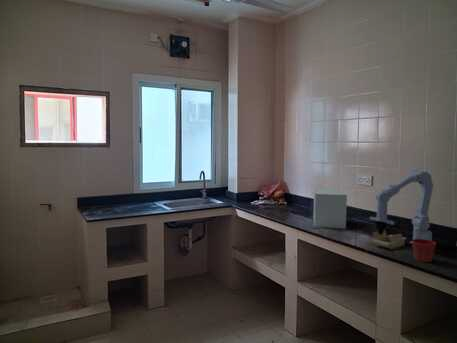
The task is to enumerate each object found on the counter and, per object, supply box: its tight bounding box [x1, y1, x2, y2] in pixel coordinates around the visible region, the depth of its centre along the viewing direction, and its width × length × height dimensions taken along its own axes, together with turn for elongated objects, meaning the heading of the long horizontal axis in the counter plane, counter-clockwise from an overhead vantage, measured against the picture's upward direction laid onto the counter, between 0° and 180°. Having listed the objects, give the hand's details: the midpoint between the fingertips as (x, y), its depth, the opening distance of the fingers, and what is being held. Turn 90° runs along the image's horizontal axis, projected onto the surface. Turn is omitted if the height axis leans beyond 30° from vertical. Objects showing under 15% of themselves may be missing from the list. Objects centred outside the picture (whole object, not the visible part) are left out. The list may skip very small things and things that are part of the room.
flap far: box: [372, 228, 388, 240], centre depth 207 cm, size 4×12×1 cm
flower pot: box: [411, 238, 437, 263], centre depth 177 cm, size 11×11×10 cm
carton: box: [370, 234, 407, 250], centre depth 202 cm, size 11×22×3 cm, turn 125°
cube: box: [312, 188, 348, 229], centre depth 254 cm, size 25×21×24 cm
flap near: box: [388, 232, 404, 243], centre depth 199 cm, size 4×12×1 cm
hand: (381, 234), depth 206 cm, fingers closed
